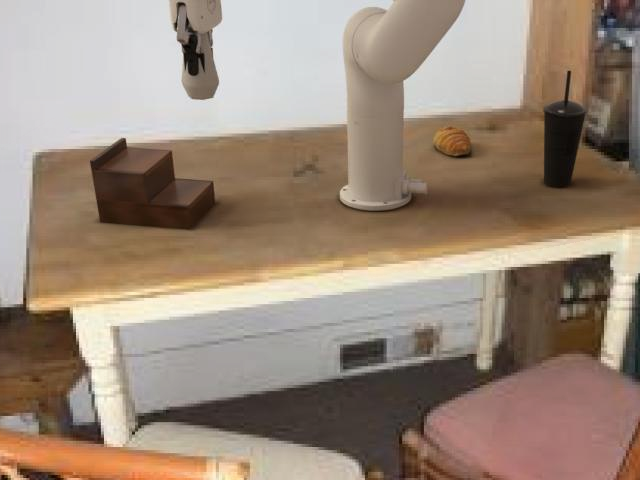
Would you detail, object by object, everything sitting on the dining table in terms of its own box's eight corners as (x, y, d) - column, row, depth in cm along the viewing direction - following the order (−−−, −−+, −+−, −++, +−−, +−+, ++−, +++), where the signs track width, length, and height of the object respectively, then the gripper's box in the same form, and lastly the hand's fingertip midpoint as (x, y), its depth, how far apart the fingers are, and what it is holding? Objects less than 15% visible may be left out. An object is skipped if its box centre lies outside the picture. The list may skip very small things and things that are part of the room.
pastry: (479, 156, 183) (480, 137, 181) (447, 160, 181) (447, 141, 179) (460, 141, 190) (461, 123, 188) (429, 145, 188) (430, 127, 186)
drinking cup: (583, 179, 171) (596, 68, 161) (572, 192, 166) (586, 78, 155) (542, 173, 174) (553, 63, 164) (530, 186, 168) (541, 74, 158)
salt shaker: (212, 102, 144) (205, 14, 137) (177, 100, 145) (169, 12, 138) (225, 92, 149) (218, 6, 142) (190, 90, 150) (183, 5, 143)
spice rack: (215, 202, 163) (209, 143, 157) (190, 229, 153) (183, 167, 147) (130, 196, 165) (121, 137, 160) (99, 222, 156) (89, 160, 150)
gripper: (193, -44, 128) (205, 91, 138) (231, -59, 142) (239, 65, 151) (142, -46, 129) (157, 88, 139) (185, -60, 143) (195, 62, 153)
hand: (200, 75), depth 145 cm, fingers closed on salt shaker, 3 cm apart
